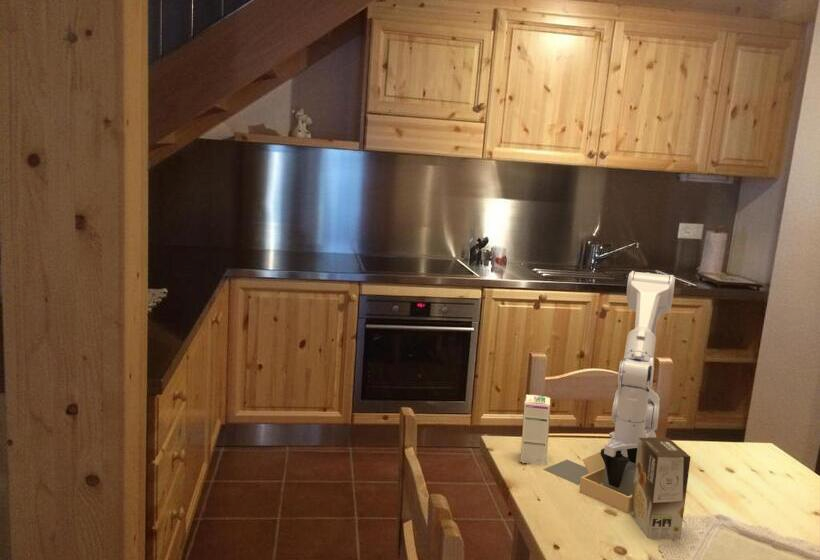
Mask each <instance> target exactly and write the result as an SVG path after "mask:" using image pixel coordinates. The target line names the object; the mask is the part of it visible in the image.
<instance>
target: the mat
mask: <svg viewBox="0 0 820 560" xmlns="http://www.w3.org/2000/svg"><path fill="white" fill-rule="evenodd" d="M542 470H543V471H546V472H548V473H550V474H552V475H555V476H556V477H559V478H561V479H563V480H566V481H568V482H570V483H573V484H575V485H576V486H577V485H579V486H580V479H581V477H582V476H585V475H587V474H589V473H588V471H587V469H586V466H585V465H581V464H579V463H576V462H574V461H572V460H569V459H565V460H563V461H560V462H558V463H555V464H552V465H550V466H548V467H546V468H543V469H542Z"/></svg>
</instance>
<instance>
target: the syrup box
mask: <svg viewBox="0 0 820 560" xmlns="http://www.w3.org/2000/svg"><path fill="white" fill-rule="evenodd" d="M550 415H551V397H549V396H546V395H540V394H526V395H525V398H524V406H523V417H522V418H523V421H522V423H523V424H522V434H521V435H522V436H521V447H520V451H521V452H520V463H521V462H522V463H521V464H524V463H528V464H527V465H531V464H534V465H542V466H546V465H547V456H548V446H549V445H548V442H549V433H550V420H551V419H550Z"/></svg>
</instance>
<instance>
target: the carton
mask: <svg viewBox="0 0 820 560" xmlns="http://www.w3.org/2000/svg"><path fill="white" fill-rule="evenodd" d="M582 461H583V463H584V467H586V469H587V471H588V473H589V474H587V475H585V476H582V477H581V479H580V484H579V488H578V489H579V490H578V491H579V493H581V494H584V495H586V496H587V497H590V498H593V499H595V500H597V501H599V502H601V503H604V504H605V505H608V506H611V507H612V508H615V509H617V510H618V511H619V510H620V511H622V512H623V513H626V514H630V512H631V503H632V495H630V496H626V495H624V494H622V493H619V492H617V491H615V490H612V489H610V488H608V487H605V486H603V479H604V470H605V463H604V460H603V458H602V456H601V451H600V452H597V453H595V454H593V455H590V456H588V457H584V458H583V459H582Z"/></svg>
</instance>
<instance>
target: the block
mask: <svg viewBox="0 0 820 560" xmlns="http://www.w3.org/2000/svg"><path fill="white" fill-rule="evenodd" d="M635 465H636V464H635V463H633V462H630V461H628V463H627V465H626V467H625V469H624V472H623V476H622V481H621V484H620V487H618V488H616V487H614V486H611V485H609V482H608V476H607V470H606V466H605V470H604V479H603V486H605V487H608V488H610V489H612V490H615V491H617V492H619V493H622V494H624V495H626V496H630V495H632V494H633V484H634V475H635Z"/></svg>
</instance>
